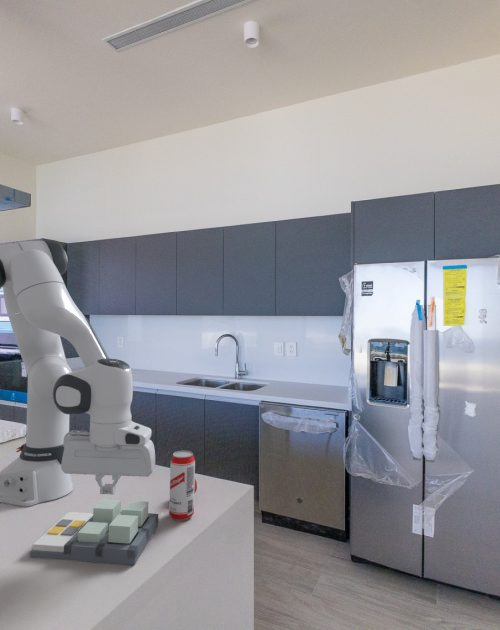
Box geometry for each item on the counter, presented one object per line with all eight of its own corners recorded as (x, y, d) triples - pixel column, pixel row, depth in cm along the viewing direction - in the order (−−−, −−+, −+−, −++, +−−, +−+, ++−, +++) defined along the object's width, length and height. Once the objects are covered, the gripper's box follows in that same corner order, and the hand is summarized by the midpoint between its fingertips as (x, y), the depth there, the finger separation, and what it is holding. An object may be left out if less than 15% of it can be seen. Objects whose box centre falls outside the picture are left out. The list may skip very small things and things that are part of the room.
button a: (77, 549, 83) (77, 532, 83) (88, 537, 87) (88, 521, 88) (98, 550, 83) (98, 534, 83) (107, 538, 87) (108, 522, 87)
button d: (121, 525, 89) (122, 509, 89) (129, 515, 94) (129, 500, 94) (141, 526, 89) (141, 511, 89) (148, 516, 93) (148, 501, 93)
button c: (108, 542, 82) (108, 525, 82) (117, 530, 87) (118, 514, 87) (129, 543, 82) (130, 526, 82) (137, 531, 87) (138, 515, 87)
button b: (93, 523, 90) (93, 508, 90) (102, 513, 94) (102, 498, 94) (112, 524, 89) (112, 509, 89) (120, 514, 94) (121, 500, 94)
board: (29, 557, 82) (30, 542, 82) (69, 520, 97) (69, 508, 97) (134, 565, 80) (135, 550, 80) (158, 526, 95) (158, 513, 95)
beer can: (182, 525, 96) (184, 459, 96) (163, 517, 99) (165, 454, 99) (198, 514, 101) (200, 452, 101) (180, 508, 104) (182, 448, 105)
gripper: (57, 434, 85) (54, 498, 84) (151, 437, 85) (149, 501, 85) (70, 426, 91) (67, 485, 91) (158, 429, 91) (155, 488, 91)
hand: (107, 493), depth 88 cm, fingers closed
